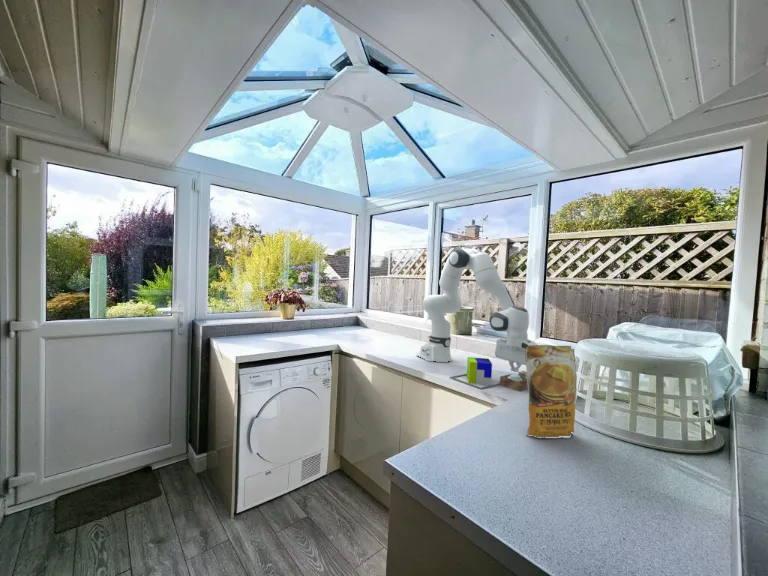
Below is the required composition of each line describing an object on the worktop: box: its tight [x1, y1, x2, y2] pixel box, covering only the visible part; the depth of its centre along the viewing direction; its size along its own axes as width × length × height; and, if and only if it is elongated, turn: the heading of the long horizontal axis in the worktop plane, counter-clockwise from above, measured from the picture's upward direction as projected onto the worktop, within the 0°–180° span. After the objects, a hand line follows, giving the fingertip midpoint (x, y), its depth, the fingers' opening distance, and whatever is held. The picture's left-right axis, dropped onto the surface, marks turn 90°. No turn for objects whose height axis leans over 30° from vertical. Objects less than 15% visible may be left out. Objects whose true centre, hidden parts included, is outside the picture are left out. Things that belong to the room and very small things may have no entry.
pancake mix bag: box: [525, 344, 578, 438], centre depth 101 cm, size 7×19×28 cm, turn 98°
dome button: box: [508, 374, 522, 381], centre depth 148 cm, size 6×6×3 cm
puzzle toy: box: [466, 356, 493, 386], centre depth 154 cm, size 10×10×10 cm
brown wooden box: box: [498, 370, 528, 392], centre depth 150 cm, size 10×16×6 cm, turn 126°
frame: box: [449, 372, 501, 391], centre depth 154 cm, size 19×17×1 cm
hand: (514, 371), depth 149 cm, fingers closed
